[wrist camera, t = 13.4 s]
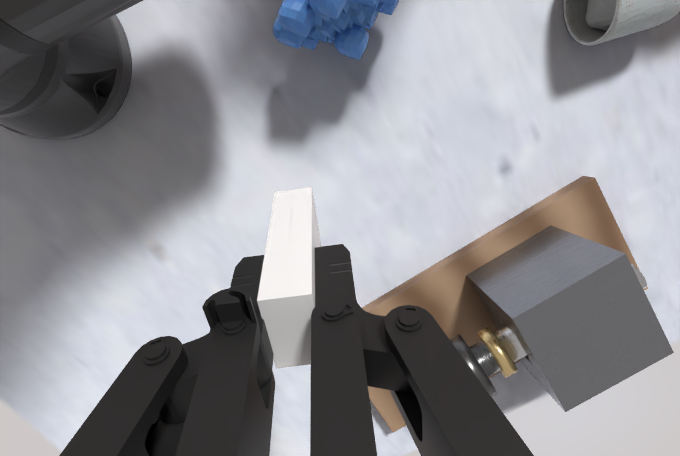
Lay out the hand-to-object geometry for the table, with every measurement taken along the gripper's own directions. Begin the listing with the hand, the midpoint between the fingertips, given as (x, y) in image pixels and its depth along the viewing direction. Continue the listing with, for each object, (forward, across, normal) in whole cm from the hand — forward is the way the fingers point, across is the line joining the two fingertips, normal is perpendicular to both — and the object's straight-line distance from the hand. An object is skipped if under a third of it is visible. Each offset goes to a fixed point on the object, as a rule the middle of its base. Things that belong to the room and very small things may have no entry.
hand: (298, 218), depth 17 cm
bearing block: (+18, +21, -23) cm, 36 cm away
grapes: (+29, +4, +3) cm, 30 cm away
